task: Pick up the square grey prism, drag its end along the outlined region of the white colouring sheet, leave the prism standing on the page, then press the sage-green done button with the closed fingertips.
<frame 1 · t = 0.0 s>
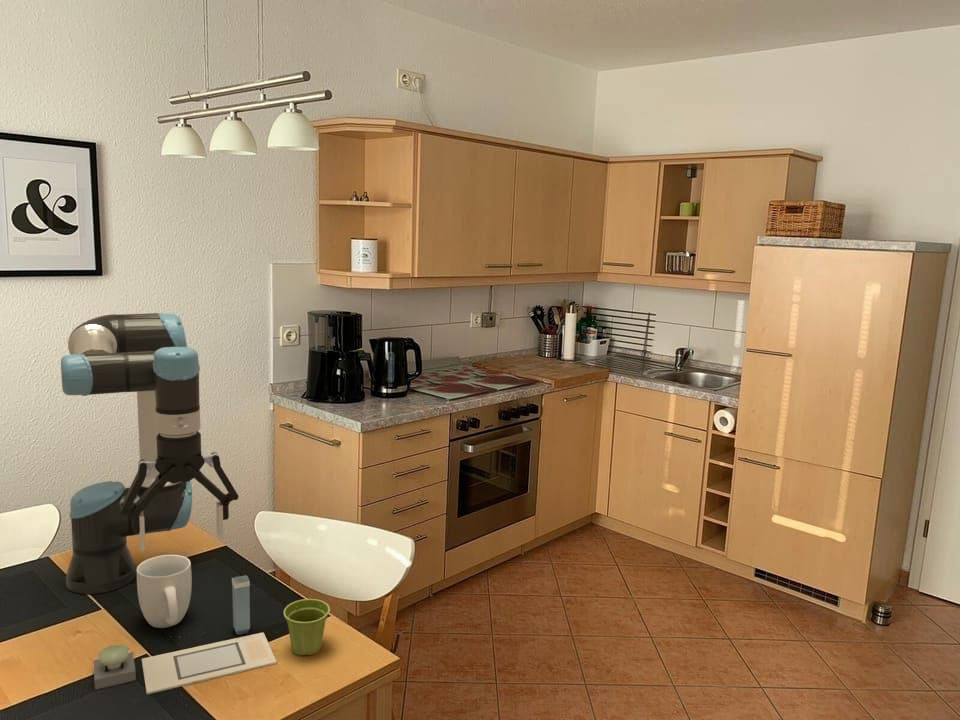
hand: (182, 541, 140), 28 cm above the table, fingers open, 13 cm apart
done button: (114, 660, 144), point 3 cm above the table, slide at 0.0 cm
plant pot: (306, 649, 156), on the table
mug: (167, 623, 163), on the table
sheet: (209, 662, 150), on the table
button housing: (114, 674, 144), on the table
square grey prism: (241, 631, 161), on the table
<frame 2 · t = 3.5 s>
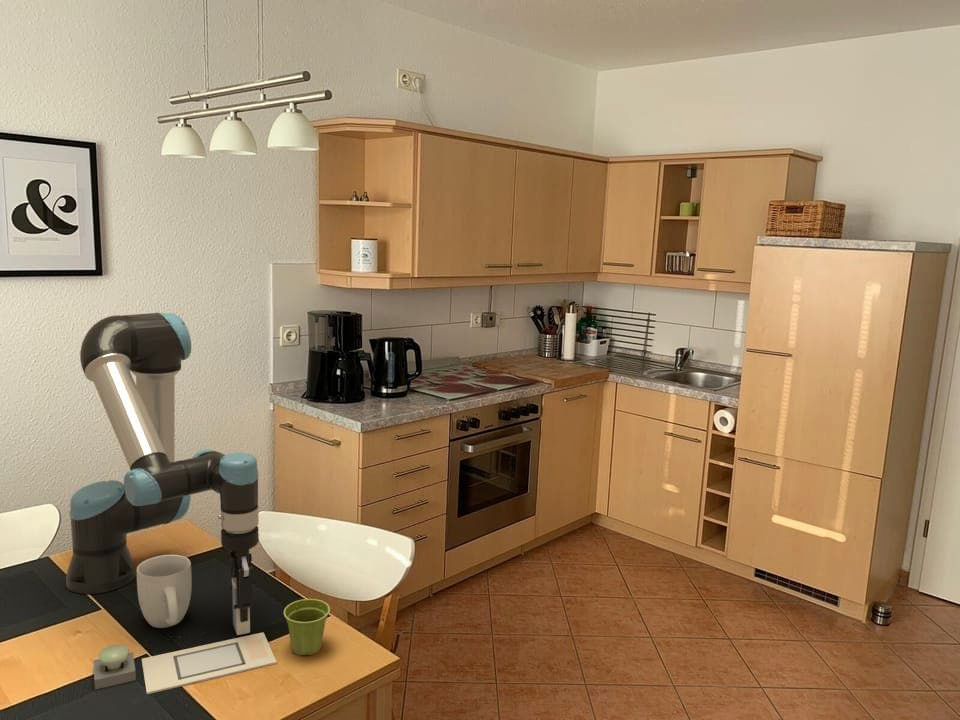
hand: (241, 628, 161), 1 cm above the table, fingers closed on square grey prism, 3 cm apart
square grey prism: (241, 631, 161), on the table, touching gripper
everything else where it was.
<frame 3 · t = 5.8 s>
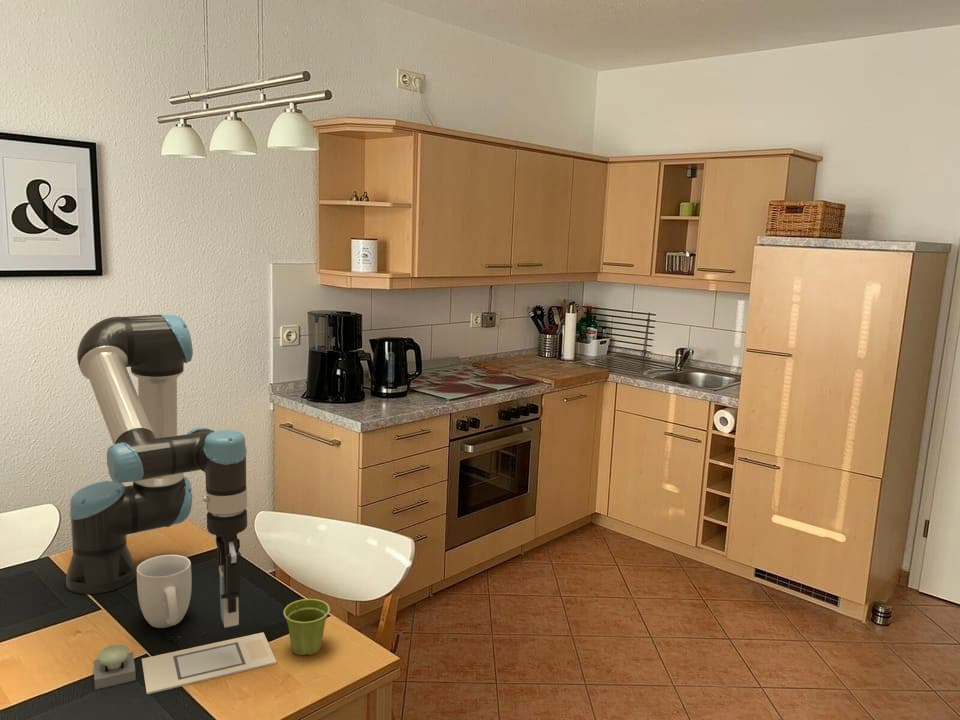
hand: (229, 620, 150), 8 cm above the table, fingers closed on square grey prism, 3 cm apart
square grey prism: (230, 623, 150), point 8 cm above the table, touching gripper
everything else where it was.
when the fingers open (2 cm above the table, at t = 8.6 s): square grey prism stays where it is, resting on sheet.
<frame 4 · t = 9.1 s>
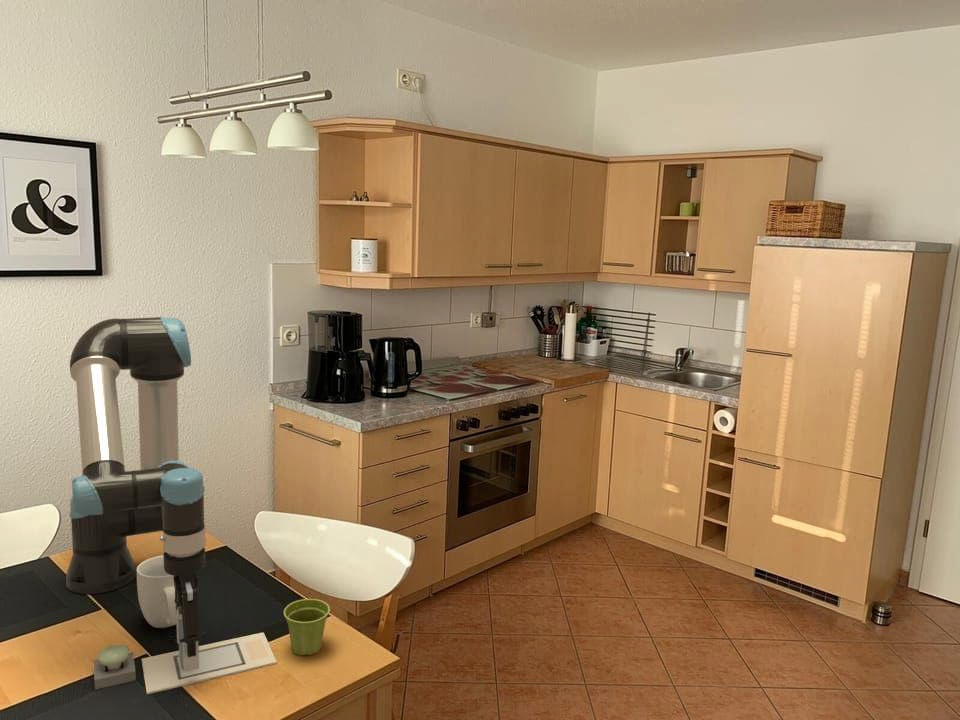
hand: (187, 654, 147), 3 cm above the table, fingers open, 10 cm apart
square grey prism: (188, 664, 148), resting on sheet
everything else where it was.
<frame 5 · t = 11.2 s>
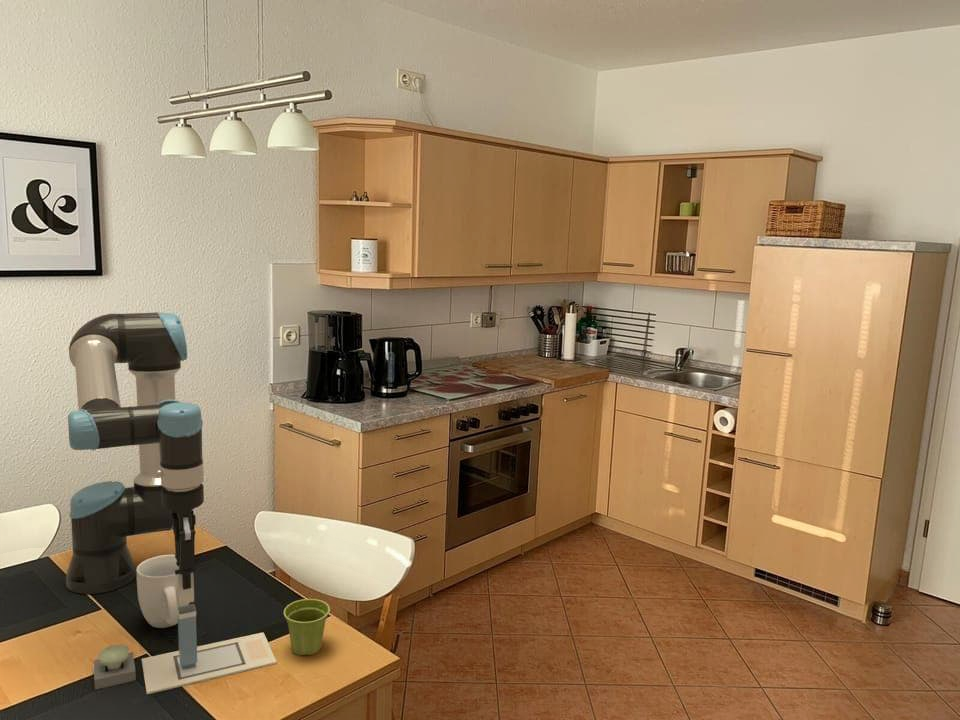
hand: (186, 599, 145), 14 cm above the table, fingers closed
nothing on the table moved.
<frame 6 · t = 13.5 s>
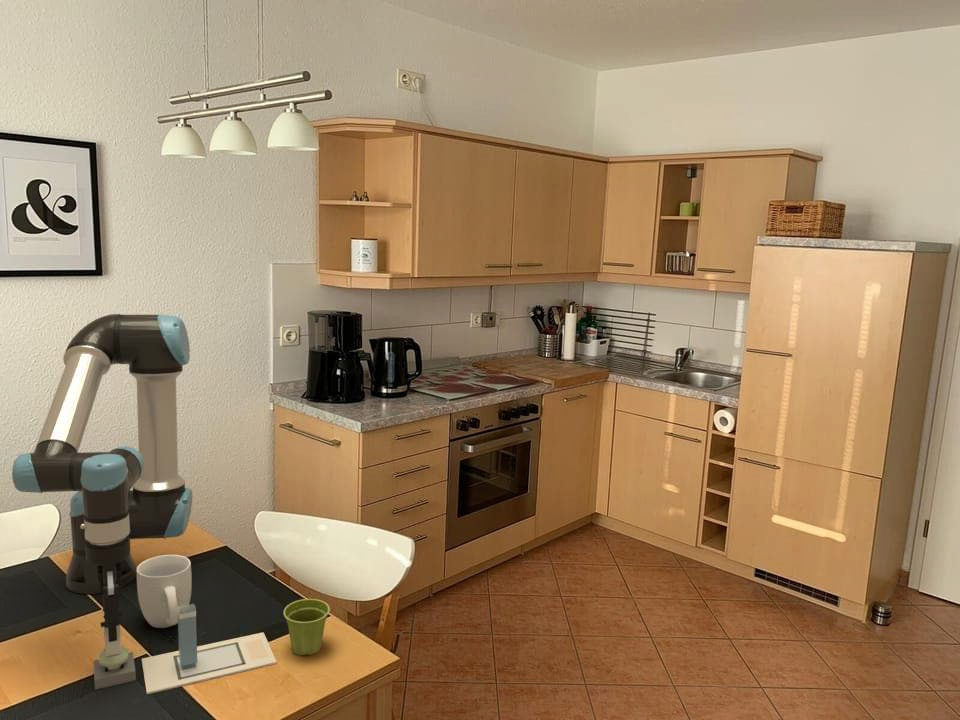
hand: (113, 652, 143), 5 cm above the table, fingers closed
done button: (114, 662, 144), point 3 cm above the table, slide at 0.3 cm, touching gripper
everything else where it was.
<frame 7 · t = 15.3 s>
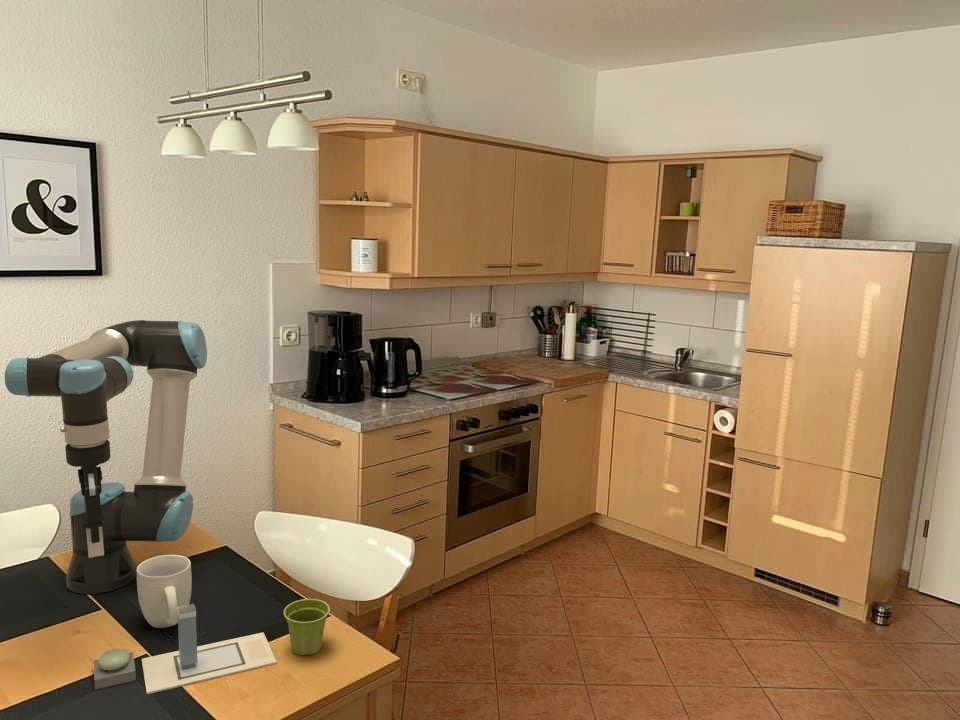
hand: (96, 554, 147), 22 cm above the table, fingers closed
done button: (114, 665, 144), point 2 cm above the table, slide at 0.9 cm
everything else where it was.
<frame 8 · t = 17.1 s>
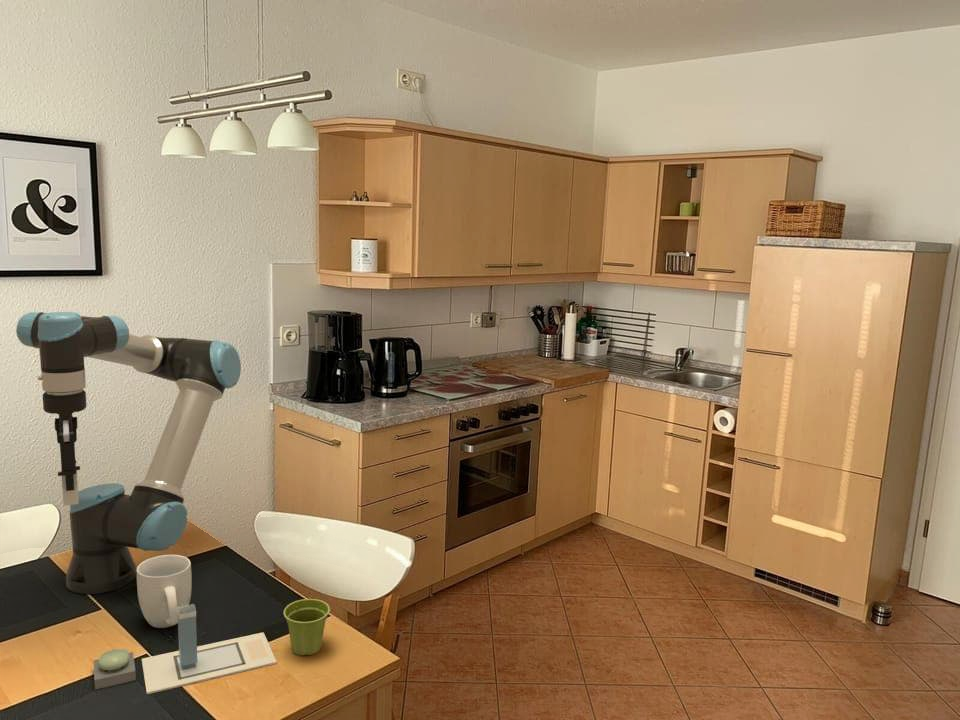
hand: (71, 503, 152), 29 cm above the table, fingers closed
nothing on the table moved.
at the end: done button slide at 0.9 cm; square grey prism inside the target area (3.9 cm from its centre), resting on sheet; the gripper is holding nothing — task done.
